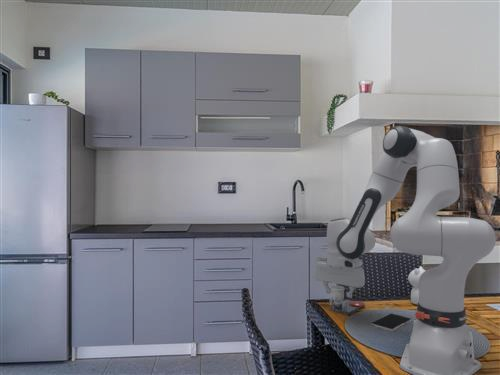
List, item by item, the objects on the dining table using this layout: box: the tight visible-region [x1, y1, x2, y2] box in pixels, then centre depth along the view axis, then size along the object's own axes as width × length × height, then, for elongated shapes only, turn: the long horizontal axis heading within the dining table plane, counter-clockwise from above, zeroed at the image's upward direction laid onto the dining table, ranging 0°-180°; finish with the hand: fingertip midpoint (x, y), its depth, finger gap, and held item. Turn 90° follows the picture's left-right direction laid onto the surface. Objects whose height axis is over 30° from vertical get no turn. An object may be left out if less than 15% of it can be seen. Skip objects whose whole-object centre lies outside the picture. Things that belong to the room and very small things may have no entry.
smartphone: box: [371, 313, 412, 332], centre depth 127 cm, size 8×1×15 cm
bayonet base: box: [329, 298, 366, 316], centre depth 143 cm, size 14×10×4 cm
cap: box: [330, 285, 346, 301], centre depth 142 cm, size 6×5×5 cm
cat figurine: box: [407, 265, 426, 306], centre depth 147 cm, size 9×12×15 cm
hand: (338, 295), depth 142 cm, fingers open, 8 cm apart
